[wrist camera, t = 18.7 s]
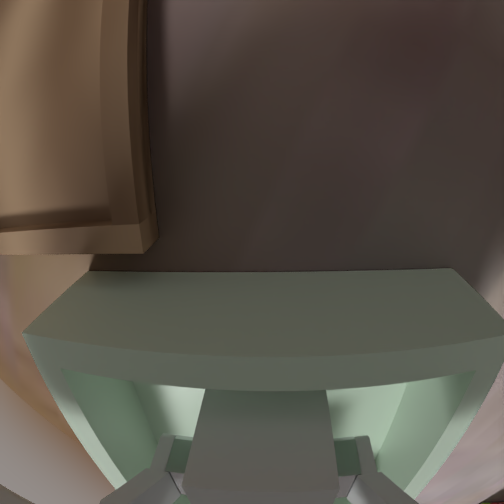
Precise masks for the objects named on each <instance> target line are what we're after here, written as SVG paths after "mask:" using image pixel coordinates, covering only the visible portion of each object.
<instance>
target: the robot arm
mask: <svg viewBox="0 0 504 504" xmlns="http://www.w3.org/2000/svg"><path fill="white" fill-rule="evenodd" d="M192 440H193V437H188V436H180V435H174V434H166V433H163V434H162V435H161V437H160V439H159V442H158V445H157V448H156V451H155V454H154V457H153V460H152V463H151V466H150V469H148V468H145V469H144V470H143V471H141V472H140V473H139V474H137V475H136V476H135V477H133V478H132V479H130V480H129V481H128V482H126V483H125V484H123V485H122V486H121V487H119V488H118V489H116V490H115V491H114V492H112V493H111V494H109V495H108V496H106V497H105V498H103V499H102V500H101V501H100V504H173V503H174V502H175V501H176V500H177V499H178V498H179V497H180V496H181V495H180V494H183V495H186V493H185V492H184V490H183V488H182V486H181V485H182V481H183V477H184V473H185V469H186V465H187V460H188V456H189V452H190V448H191V444H192ZM333 440H334V447H335V455H336V462H337V470H338V479H339V487H340V489H339V492H338V494H337V496H336V498H342V497H347V499H348V500H349V502H350V503H351V504H419V503H417V502H416V501H415V500H414V499H413V498H411V497H410V496H409V495H408V494H407V493H405V492H404V491H403V490H402V489H401V488H399V487H398V486H397V485H396V484H395V483H394V482H392V481H391V480H390V479H389V478H388V477H387V476H386V475H384V474H383V473H382V472H377V468H376V464H375V459H374V455H373V450H372V446H371V442H370V438H369V436H368V435H363V436H355V437H353V436H352V437H343V438H333ZM0 504H34V503H32V502H30V501H28V500H27V499H25V498H23V497H21V496H19V495H18V494H16V493H14V492H12V491H11V490H9V489H7V488H6V487H4V486H2V485H1V484H0Z"/></svg>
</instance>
